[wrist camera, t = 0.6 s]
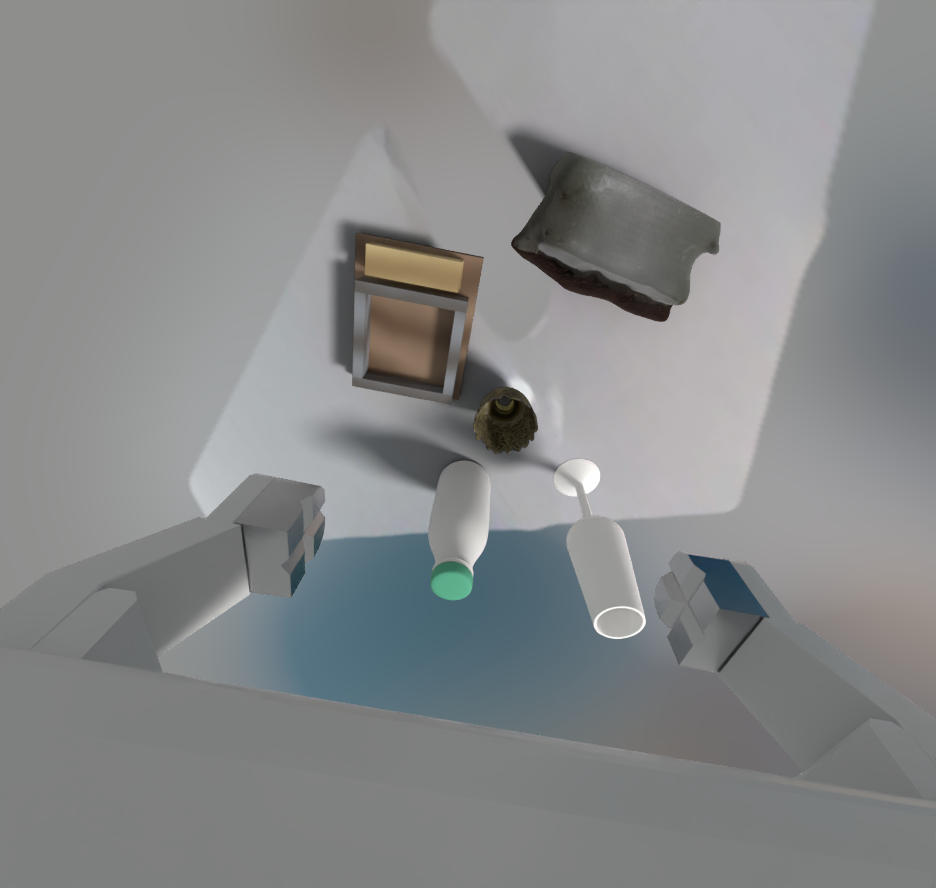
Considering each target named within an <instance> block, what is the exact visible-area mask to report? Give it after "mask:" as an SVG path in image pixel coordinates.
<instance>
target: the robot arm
mask: <svg viewBox="0 0 936 888" xmlns="http://www.w3.org/2000/svg"><path fill="white" fill-rule="evenodd" d="M324 502H325V493H324V489H323V488H322V486H317V485H312V484H307V483H302V482H297V481H293V480H288V479H283V478H276V477H272V476H266V475H261V474H253V475H250V476H249V477H248V478H247V479H246V480H245V481H244V482H242V483H241V484H240V485H239V486H238V487H237V488H236V489H235V490H234V491H233V492H232V493H231V494H230V495H229V496H228V497H227V498H226V499H225V500H224V501H223V502H222V503H221V504H220V505H219V506H218V507H217V508H216V509H215V510H214V511H213V512H212V513H211V514H210V515H209V516H208V517H207V518H200V517H198V518H195V519H193V520H190V521H187V522H184V523H182V524H179V525H176V526H174V527H171V528H168V529H165V530H163V531H160V532H158V533H155V534H152V535H149V536H147V537H144V538H141V539H139V540H136V541H133V542H130V543H128V544H125V545H122V546H120V547H117V548H114V549H112V550H109V551H106V552H104V553H101V554H98V555H96V556H93V557H90V558H88V559H85V560H82V561H79V562H77V563H74V564H71V565H69V566H66V567H63V568H60V569H58V570H55V571H53V572H50V573H47V574H45V575H44V576H43V577H41V578H40V579H39V580H37V581H36V582H35V583H33V584H32V585H31V586H29V587H28V588H27V589H25V590H24V591H23V592H21V593H20V594H19V595H17V596H16V597H15V598H14V599H12V600H11V601H9V602H8V603H7V604H6V605H4V606H3V607H2V608H0V888H936V719H935V718H933V717H932V716H930V715H929V714H928V713H926V712H925V711H923V710H922V709H920V708H919V707H918V706H916V705H915V704H914V703H912V702H911V701H909V700H908V699H907V698H905V697H904V696H902V695H901V694H900V693H898V692H897V691H895V690H894V689H893V688H891V687H890V686H888V685H887V684H886V683H884V682H883V681H881V680H880V679H878V678H877V677H876V676H875V675H873V674H872V673H870V672H869V671H868V670H866V669H865V668H863V667H862V666H861V665H859V664H858V663H856V662H855V661H854V660H852V659H851V658H849V657H848V656H847V655H845V654H844V653H842V652H841V651H840V650H838V649H837V648H835V647H834V646H833V645H831V644H830V643H828V642H827V641H826V640H824V639H823V638H822V637H820V636H819V635H817V634H816V633H815V632H813V631H812V630H810V629H809V628H808V627H806V626H805V625H803V624H797V623H796V622H795V621H794V620H793V619H792V617H791V616H790V614H789V613H788V612H787V610H786V609H785V608H784V607H783V605H782V604H781V603H780V601H779V600H778V599H777V597H776V596H775V595H774V594H773V592H772V591H771V590H770V588H769V587H768V586H767V584H766V583H765V582H764V580H763V579H762V578H761V577H760V575H759V574H758V573H757V572H756V570H755V569H754V568H753V567H752V566H751V565H750V564H748V563H747V562H743V561H737V560H730V559H724V558H723V559H720V558H714V557H709V556H703V555H697V554H691V553H686V552H678V553H676V554H675V555H674V556H673V557H672V559H671V561H670V562H669V566H670V569H671V572H669V573H668V574H666V575H664V576H662V577H661V578H660V580H659V582H658V584H657V586H656V588H655V596H654V602H655V607H656V611H657V614H658V616H659V619H660V620H661V621H662V622H663V623H664V624H665V625H667V627H669V628H670V630H669V633H668V635H667V638H668V640H669V643H670V645H671V647H672V650H673V652H674V654H675V657H676V659H677V661H678V664H679V665H681V666H685V667H691V668H696V669H701V670H705V671H710V672H715V673H719V674H718V676H719V677H720V678H721V679H722V680H723V682H724V683H725V684H726V685H727V686H728V687H729V688H730V689H731V690H732V692H733V693H734V694H735V695H736V696H737V697H738V698H739V700H741V702H742V703H743V704H744V705H745V706H746V707H747V709H748V710H749V711H750V712H751V713H752V714H753V715H754V716H755V717H756V719H757V720H758V721H759V722H760V723H761V724H762V725H763V726H764V728H765V729H766V730H767V731H768V732H769V733H770V734H771V735H772V737H773V738H774V739H775V740H776V741H777V742H778V743H779V744H780V746H781V747H782V748H783V749H784V750H785V751H786V752H787V753H788V755H789V756H790V757H791V758H792V759H793V760H794V761H795V762H796V764H797V765H798V766H799V767H800V768H801V769H802V770H803V771H804V772H802V773H801V774H800V775H799V776H797V777H796V778H792V777H786V776H780V775H773V774H768V773H762V772H756V771H750V770H743V769H738V768H732V767H726V766H720V765H714V764H708V763H702V762H696V761H690V760H684V759H678V758H671V757H666V756H660V755H654V754H648V753H642V752H636V751H630V750H624V749H618V748H612V747H606V746H599V745H593V744H588V743H581V742H575V741H569V740H563V739H557V738H551V737H545V736H539V735H533V734H527V733H521V732H515V731H510V730H504V729H497V728H492V727H486V726H480V725H473V724H467V723H461V722H455V721H450V720H443V719H438V718H431V717H426V716H420V715H413V714H407V713H401V712H396V711H390V710H384V709H377V708H372V707H365V706H360V705H353V704H348V703H342V702H336V701H330V700H324V699H318V698H312V697H306V696H300V695H294V694H288V693H282V692H276V691H270V690H264V689H257V688H252V687H246V686H240V685H234V684H228V683H222V682H216V681H210V680H204V679H198V678H192V677H185V676H180V675H174V674H168V673H163V671H162V668H161V666H160V663H159V660H158V657H159V656H160V655H162V654H163V653H165V652H166V651H168V650H169V649H170V648H172V647H173V646H175V645H176V644H178V643H179V642H181V641H182V640H184V639H185V638H187V637H188V636H190V635H191V634H192V633H194V632H195V631H197V630H198V629H200V628H201V627H203V626H204V625H206V624H207V623H208V622H210V621H212V620H213V619H214V618H216V617H217V616H219V615H220V614H222V613H223V612H225V611H226V610H228V609H229V608H231V607H232V606H234V605H235V604H236V603H238V602H239V601H241V600H242V599H244V598H245V597H247V596H248V595H249V594H250V592H253V593H260V594H267V595H274V596H281V597H288V598H292V596H293V594H294V592H295V590H296V589H297V587H298V585H299V583H300V582H301V580H302V578H303V576H304V575H305V563H306V562H308V561H309V560H311V559H313V558H314V557H315V555H316V553H317V551H318V549H319V547H320V544H321V541H322V538H323V534H324V528H325V517H324V515H323V514H322V513H321V511H320V509H321V507H322V506H323V504H324Z"/></svg>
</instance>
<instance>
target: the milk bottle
mask: <svg viewBox="0 0 936 888" xmlns="http://www.w3.org/2000/svg"><path fill="white" fill-rule="evenodd" d="M489 511H490V478H489V475H488V473H487V472H486V471H485V470H484V469H483V468H482V467H481V466H480V465H478V464H476V463H474V462H471V461H464V460H463V461H457V462H454V463H451V464H450V465H448V466H447V467H446V468H445V469H444V470H443V471H442V473H441V475H440V478H439V482H438V486H437V490H436V494H435V499H434V503H433V508H432V512H431V517H430V523H429V532H428V536H429V543H430V547H431V550H432V552H433V554H434V558H435V565H434V566H433V569H432V575H431V580H430V585H431V589H432V591H433V592H434V593H435V594H436V595H438V596H439V597H441V598H444V599H447V600H459V599H462V598H464V597H466V596H467V595H468V594H469V593H470V591H471V589H472V584H473V569H472V567H473V565H474V562H475V561H476V560H477V558H478V557H479V556H480V554H481V553H482V551H483V549H484V547H485V544H486V541H487V537H488V529H489Z"/></svg>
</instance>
